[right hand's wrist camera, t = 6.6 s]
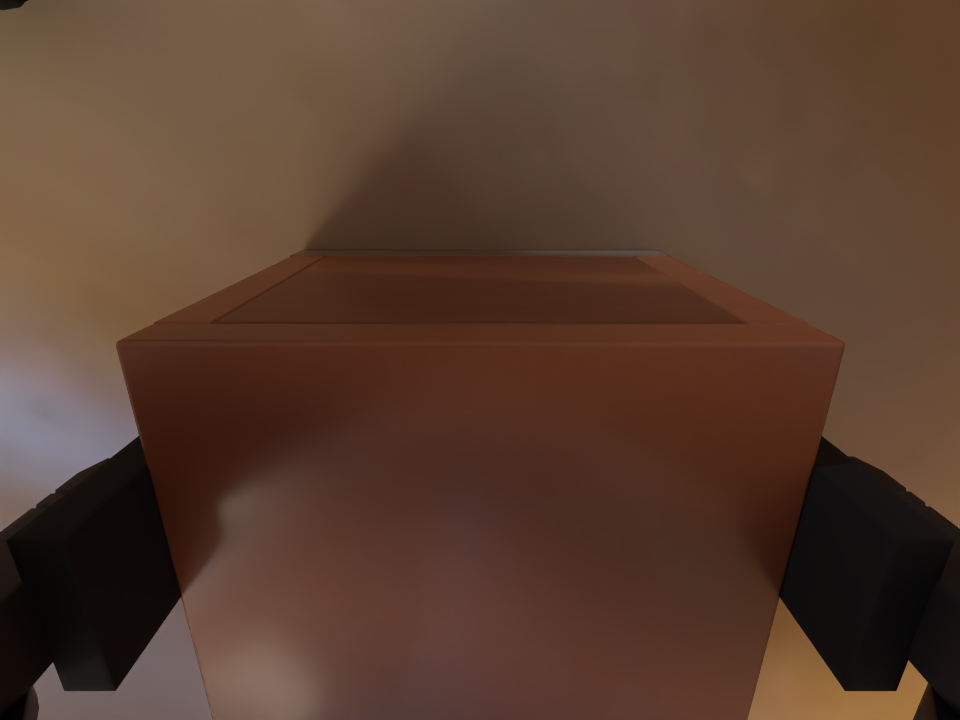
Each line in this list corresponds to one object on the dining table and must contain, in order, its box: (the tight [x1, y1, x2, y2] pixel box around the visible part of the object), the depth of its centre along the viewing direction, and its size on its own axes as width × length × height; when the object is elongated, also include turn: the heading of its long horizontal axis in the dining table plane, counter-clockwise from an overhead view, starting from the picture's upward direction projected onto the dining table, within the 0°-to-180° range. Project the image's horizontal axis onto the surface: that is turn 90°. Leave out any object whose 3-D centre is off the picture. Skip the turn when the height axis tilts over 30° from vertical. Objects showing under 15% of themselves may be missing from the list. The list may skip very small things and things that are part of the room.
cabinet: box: [116, 250, 845, 720], centre depth 15 cm, size 20×11×9 cm, turn 0°
